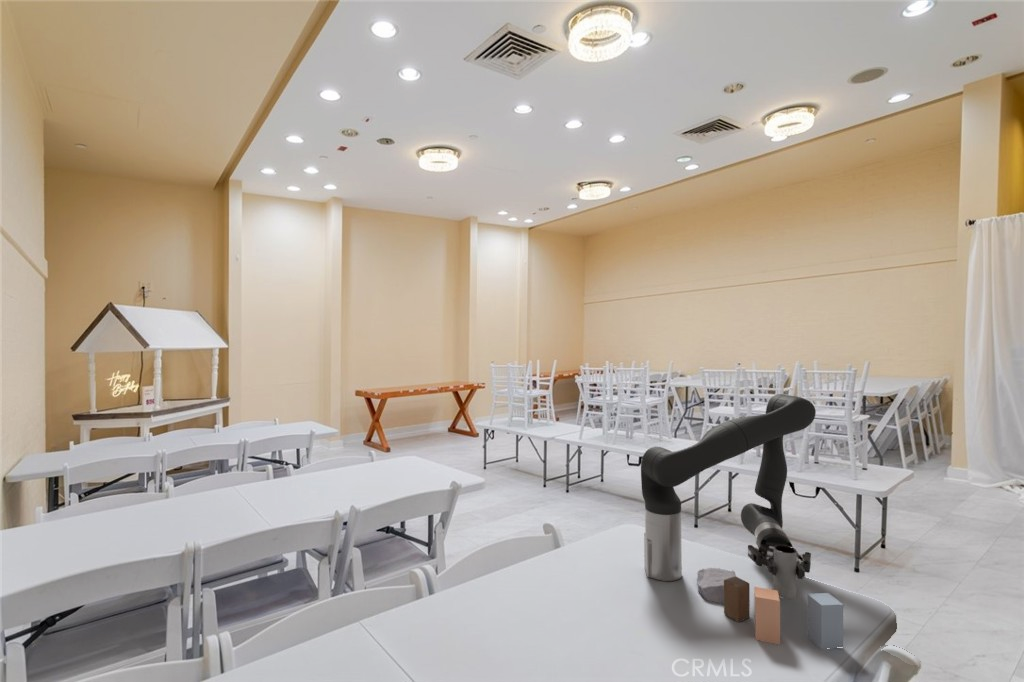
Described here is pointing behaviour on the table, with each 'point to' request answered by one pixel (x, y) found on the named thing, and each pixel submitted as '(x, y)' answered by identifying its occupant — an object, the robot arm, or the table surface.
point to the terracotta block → (767, 615)
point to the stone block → (713, 583)
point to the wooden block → (736, 599)
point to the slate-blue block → (825, 620)
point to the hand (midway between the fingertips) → (787, 572)
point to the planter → (785, 571)
